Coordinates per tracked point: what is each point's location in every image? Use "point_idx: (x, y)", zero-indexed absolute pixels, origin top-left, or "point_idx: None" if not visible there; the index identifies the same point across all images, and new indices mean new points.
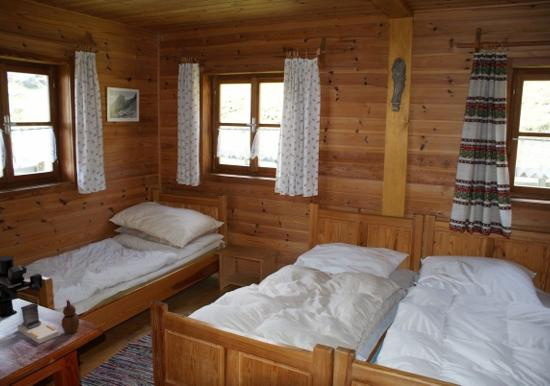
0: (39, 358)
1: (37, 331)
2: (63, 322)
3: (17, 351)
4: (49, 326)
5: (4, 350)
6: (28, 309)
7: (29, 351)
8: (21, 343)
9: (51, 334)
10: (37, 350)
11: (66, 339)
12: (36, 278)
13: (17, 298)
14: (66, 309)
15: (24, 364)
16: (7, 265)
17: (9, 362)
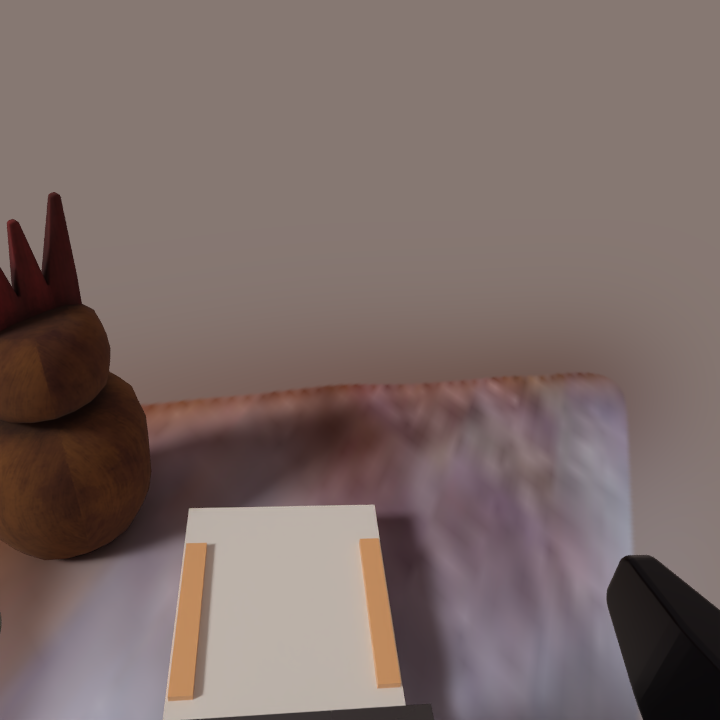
0: (433, 385)
1: (322, 649)
2: (144, 420)
3: (538, 549)
4: (184, 642)
5: None
6: (361, 718)
7: (462, 488)
8: (488, 654)
9: (257, 511)
10: (413, 462)
11: (196, 448)
12: None
13: (615, 592)
14: (83, 308)
15: (519, 391)
16: None
17: (599, 461)
